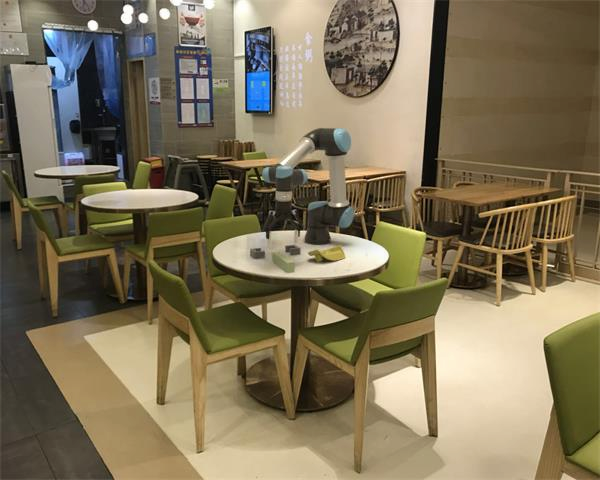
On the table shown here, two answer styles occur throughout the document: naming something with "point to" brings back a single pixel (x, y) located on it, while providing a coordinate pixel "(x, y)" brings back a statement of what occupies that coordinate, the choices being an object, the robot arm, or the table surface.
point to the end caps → (257, 252)
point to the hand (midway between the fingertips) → (282, 244)
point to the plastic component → (328, 254)
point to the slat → (283, 262)
